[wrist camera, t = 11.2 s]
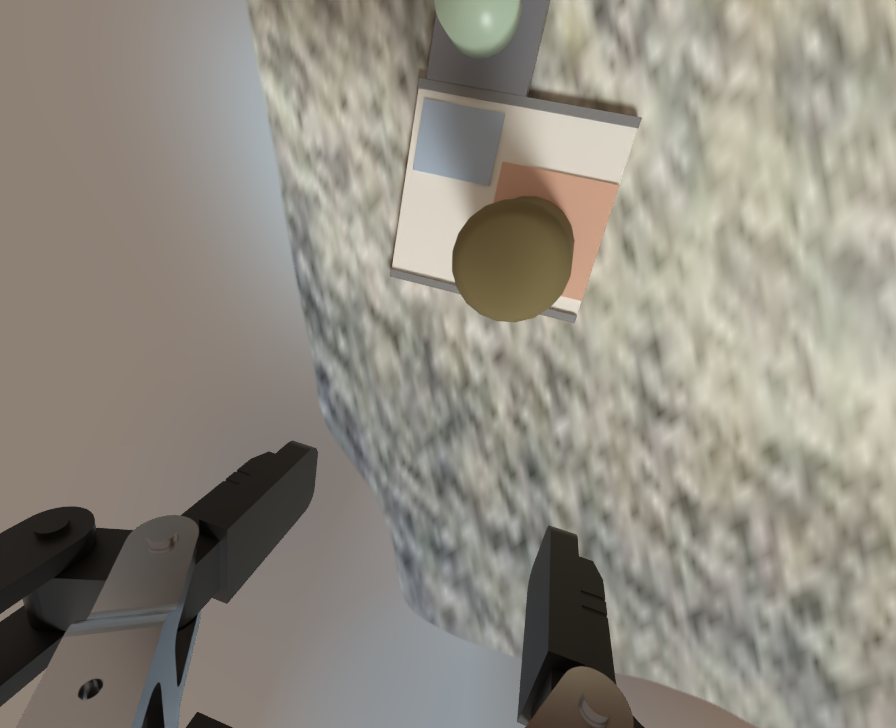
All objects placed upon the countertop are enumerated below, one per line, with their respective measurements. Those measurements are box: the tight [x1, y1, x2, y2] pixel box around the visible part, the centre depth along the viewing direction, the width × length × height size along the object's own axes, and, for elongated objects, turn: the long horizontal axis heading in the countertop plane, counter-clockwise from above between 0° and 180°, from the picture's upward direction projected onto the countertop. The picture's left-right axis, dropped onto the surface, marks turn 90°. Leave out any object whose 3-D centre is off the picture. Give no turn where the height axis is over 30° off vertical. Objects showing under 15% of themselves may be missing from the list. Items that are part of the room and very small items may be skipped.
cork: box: [452, 196, 575, 322], centre depth 22 cm, size 6×6×11 cm
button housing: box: [426, 0, 550, 97], centre depth 24 cm, size 6×6×1 cm
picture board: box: [390, 78, 642, 323], centre depth 27 cm, size 13×12×1 cm
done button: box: [434, 0, 522, 59], centre depth 21 cm, size 4×4×2 cm
